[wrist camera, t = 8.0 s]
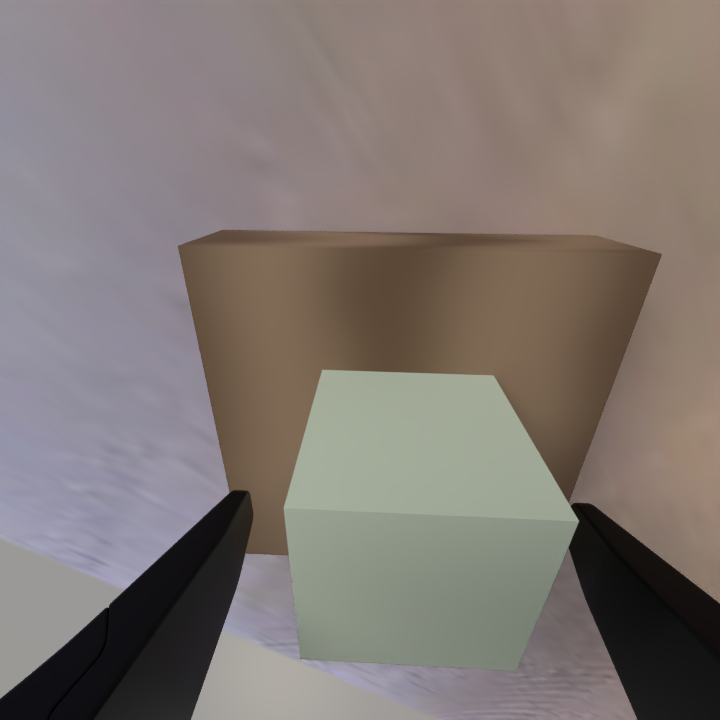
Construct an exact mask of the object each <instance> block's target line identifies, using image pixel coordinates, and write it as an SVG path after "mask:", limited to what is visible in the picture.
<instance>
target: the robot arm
mask: <svg viewBox="0 0 720 720" xmlns="http://www.w3.org/2000/svg"><path fill="white" fill-rule="evenodd" d="M571 508H572V510H573V512H574V513H575V515H576V517H577V519H578V520H579V523H578V525H577V528H576V530H575V532H574V535H573V537H572V540H571V542H570V544H569V550H570V553H571V556H572V560H573V563H574V566H575V569H576V572H577V575H578V578H579V581H580V584H581V587H582V590H583V593H584V596H585V599H586V601H587V604H588V606H589V608H590V611H591V613H592V615H593V618H594V620H595V622H596V625H597V627H598V629H599V632H600V634H601V636H602V639H603V641H604V643H605V646H606V648H607V650H608V652H609V655H610V657H611V659H612V662H613V664H614V666H615V669H616V671H617V673H618V676H619V678H620V680H621V683H622V685H623V687H624V689H625V692H626V694H627V696H628V699H629V701H630V703H631V706H632V708H633V710H634V713H635V715H636V717H637V720H720V603H718V602H717V601H716V600H715V599H713V598H712V597H711V596H709V595H708V594H707V593H706V592H704V591H703V590H702V589H700V588H699V587H698V586H697V585H695V584H694V583H693V582H691V581H690V580H689V579H688V578H686V577H685V576H684V575H682V574H681V573H680V572H679V571H677V570H676V569H675V568H673V567H672V566H671V565H670V564H668V563H667V562H666V561H664V560H663V559H662V558H660V557H659V556H658V555H657V554H655V553H654V552H653V551H651V550H650V549H649V548H648V547H646V546H645V545H644V544H642V543H641V542H640V541H639V540H637V539H636V538H635V537H633V536H632V535H631V534H630V533H628V532H627V531H626V530H624V529H623V528H622V527H621V526H619V525H618V524H617V523H615V522H614V521H613V520H612V519H610V518H609V517H608V516H606V515H605V514H604V513H603V512H601V511H600V510H599V509H597V508H596V507H595V506H593V505H592V504H589V503H574V504H572V505H571ZM252 523H253V507H252V501H251V496H250V492H249V491H247V490H233V491H231V492H230V493H229V494H228V495H227V496H226V497H225V498H224V499H223V500H221V501H220V502H219V503H218V504H217V505H216V506H215V507H214V508H213V509H212V510H211V511H210V512H209V513H207V514H206V515H205V516H204V517H203V518H202V519H201V520H200V521H199V522H198V523H197V524H196V525H195V526H193V527H192V528H191V529H190V530H189V531H188V532H187V533H186V534H185V535H184V536H183V537H182V538H181V539H179V540H178V541H177V542H176V543H175V544H174V545H173V546H172V547H171V548H170V549H169V550H168V551H167V552H165V553H164V554H163V555H162V556H161V557H160V558H159V559H158V560H157V561H156V562H155V563H154V564H153V565H151V566H150V567H149V568H148V569H147V570H146V571H145V572H144V573H143V574H142V575H141V576H140V577H139V578H137V579H136V580H135V581H134V582H133V583H132V584H131V585H130V586H129V587H128V588H127V589H126V590H125V591H123V592H122V593H121V594H120V595H119V596H118V597H117V598H116V599H115V600H114V601H113V602H112V603H111V604H110V605H109V608H105V609H104V610H103V611H102V612H101V613H100V614H99V615H97V616H96V617H95V618H94V619H93V620H92V621H91V622H90V623H89V624H88V625H87V626H86V627H84V628H83V629H82V630H81V631H80V632H79V633H78V634H77V635H75V636H74V637H73V638H72V639H71V640H70V641H69V642H68V643H67V644H65V645H64V646H63V647H62V648H61V649H60V650H58V651H57V652H56V653H55V654H54V655H53V656H51V657H50V658H49V659H48V660H47V661H45V662H44V663H43V664H42V665H41V666H39V667H38V668H37V669H36V670H35V671H34V672H32V673H31V674H30V675H29V676H28V677H26V678H25V679H24V680H23V681H21V682H20V683H19V684H18V685H17V686H15V687H14V688H13V689H12V690H10V691H9V692H8V693H7V694H6V695H4V696H3V697H2V698H1V699H0V720H191V717H192V714H193V711H194V709H195V706H196V703H197V700H198V697H199V694H200V692H201V689H202V686H203V683H204V680H205V677H206V674H207V671H208V669H209V665H210V663H211V660H212V657H213V654H214V651H215V648H216V645H217V643H218V640H219V637H220V634H221V631H222V628H223V625H224V623H225V620H226V617H227V614H228V611H229V608H230V605H231V602H232V600H233V597H234V594H235V591H236V588H237V585H238V581H239V577H240V573H241V569H242V565H243V561H244V557H245V552H246V548H247V544H248V540H249V535H250V531H251V527H252Z"/></svg>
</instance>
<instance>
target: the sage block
mask: <svg viewBox="0 0 720 720" xmlns="http://www.w3.org/2000/svg"><path fill="white" fill-rule="evenodd" d="M284 516H285V525H286V534H287V543H288V552H289V561H290V570H291V579H292V588H293V597H294V606H295V615H296V624H297V633H298V642H299V651H300V659H307V660H324V661H342V662H360V663H378V664H396V665H413V666H431V667H449V668H467V669H484V670H502V671H517V669H518V666H519V664H520V661H521V659H522V657H523V654H524V652H525V650H526V647H527V645H528V642H529V640H530V638H531V635H532V633H533V630H534V628H535V626H536V623H537V621H538V618H539V616H540V614H541V611H542V609H543V607H544V604H545V602H546V599H547V597H548V595H549V592H550V590H551V587H552V585H553V583H554V580H555V578H556V575H557V573H558V571H559V568H560V566H561V564H562V561H563V559H564V556H565V554H566V552H567V549H568V547H569V544H570V542H571V540H572V537H573V535H574V532H575V530H576V528H577V525H578V523H579V520H578V519H577V517H576V515H575V513H574V512H573V510H572V508H571V507H570V505H569V503H568V502H567V500H566V498H565V496H564V495H563V493H562V491H561V490H560V488H559V486H558V484H557V483H556V481H555V479H554V478H553V476H552V474H551V472H550V471H549V469H548V467H547V466H546V464H545V462H544V461H543V459H542V457H541V455H540V454H539V452H538V450H537V449H536V447H535V445H534V443H533V442H532V440H531V438H530V437H529V435H528V433H527V432H526V430H525V428H524V426H523V425H522V423H521V421H520V420H519V418H518V416H517V414H516V413H515V411H514V409H513V408H512V406H511V404H510V402H509V401H508V399H507V397H506V396H505V394H504V392H503V391H502V389H501V387H500V385H499V384H498V382H497V380H496V379H495V377H494V375H464V374H434V373H404V372H374V371H344V370H322V372H321V376H320V379H319V383H318V387H317V390H316V394H315V397H314V401H313V404H312V408H311V412H310V415H309V419H308V422H307V426H306V430H305V433H304V437H303V440H302V444H301V448H300V451H299V455H298V458H297V462H296V465H295V469H294V473H293V476H292V480H291V483H290V487H289V491H288V494H287V498H286V501H285V505H284Z"/></svg>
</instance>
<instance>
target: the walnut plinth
mask: <svg viewBox="0 0 720 720" xmlns="http://www.w3.org/2000/svg"><path fill="white" fill-rule="evenodd" d="M178 249H179V254H180V258H181V263H182V268H183V273H184V277H185V282H186V287H187V292H188V296H189V301H190V306H191V311H192V315H193V320H194V325H195V330H196V334H197V339H198V344H199V349H200V353H201V358H202V363H203V368H204V372H205V377H206V382H207V387H208V392H209V396H210V401H211V406H212V411H213V415H214V420H215V425H216V430H217V434H218V439H219V444H220V449H221V453H222V458H223V463H224V468H225V472H226V477H227V482H228V487H229V491H230V492H231V491H233V490H247V491H249V492H250V496H251V501H252V507H253V523H252V527H251V531H250V535H249V540H248V544H247V548H246V552H245V553H248V554H271V555H289V552H288V543H287V534H286V525H285V516H284V505H285V501H286V498H287V494H288V491H289V487H290V483H291V480H292V476H293V473H294V469H295V465H296V462H297V458H298V455H299V451H300V448H301V444H302V440H303V437H304V433H305V430H306V426H307V422H308V419H309V415H310V412H311V408H312V404H313V401H314V397H315V394H316V390H317V387H318V383H319V379H320V376H321V372H322V370H344V371H374V372H404V373H434V374H464V375H494V377H495V379H496V380H497V382H498V384H499V385H500V387H501V389H502V391H503V392H504V394H505V396H506V397H507V399H508V401H509V402H510V404H511V406H512V408H513V409H514V411H515V413H516V414H517V416H518V418H519V420H520V421H521V423H522V425H523V426H524V428H525V430H526V432H527V433H528V435H529V437H530V438H531V440H532V442H533V443H534V445H535V447H536V449H537V450H538V452H539V454H540V455H541V457H542V459H543V461H544V462H545V464H546V466H547V467H548V469H549V471H550V472H551V474H552V476H553V478H554V479H555V481H556V483H557V484H558V486H559V488H560V490H561V491H562V493H563V495H564V496H565V498H566V500H567V502H569V500H570V497H571V494H572V492H573V489H574V486H575V484H576V481H577V478H578V476H579V473H580V470H581V468H582V465H583V462H584V460H585V457H586V454H587V452H588V449H589V447H590V444H591V441H592V439H593V436H594V433H595V431H596V428H597V425H598V423H599V420H600V417H601V415H602V412H603V409H604V407H605V404H606V401H607V399H608V396H609V393H610V391H611V388H612V385H613V383H614V380H615V377H616V375H617V372H618V369H619V367H620V364H621V361H622V359H623V356H624V354H625V351H626V348H627V346H628V343H629V340H630V338H631V335H632V332H633V330H634V327H635V324H636V322H637V319H638V316H639V314H640V311H641V308H642V306H643V303H644V300H645V298H646V295H647V292H648V290H649V287H650V284H651V282H652V279H653V276H654V274H655V271H656V268H657V266H658V263H659V260H660V258H661V255H662V254H660V253H656V252H652V251H649V250H645V249H642V248H638V247H634V246H631V245H627V244H623V243H620V242H616V241H613V240H609V239H605V238H602V237H598V236H573V235H508V234H443V233H379V232H314V231H249V230H221V231H218V232H216V233H213V234H210V235H207V236H204V237H202V238H199V239H196V240H193V241H190V242H188V243H185V244H182V245H179V246H178Z"/></svg>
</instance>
